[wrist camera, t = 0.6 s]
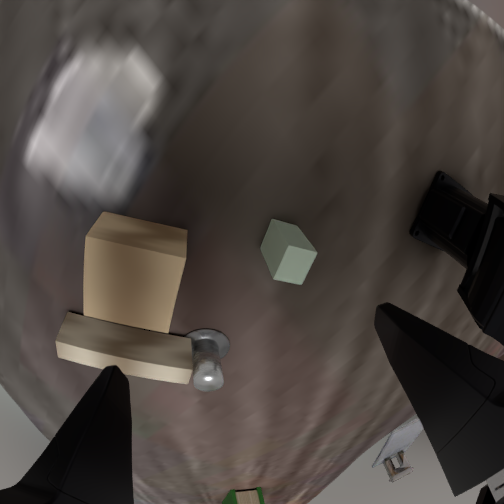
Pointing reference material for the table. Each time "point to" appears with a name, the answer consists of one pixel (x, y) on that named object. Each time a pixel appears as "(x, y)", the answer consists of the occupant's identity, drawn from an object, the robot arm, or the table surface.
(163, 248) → the oak block
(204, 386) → the metal door knob
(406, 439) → the slab with upright peg
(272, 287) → the table surface
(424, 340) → the robot arm
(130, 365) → the gate rail
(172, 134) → the table surface
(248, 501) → the hardback book
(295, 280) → the post
